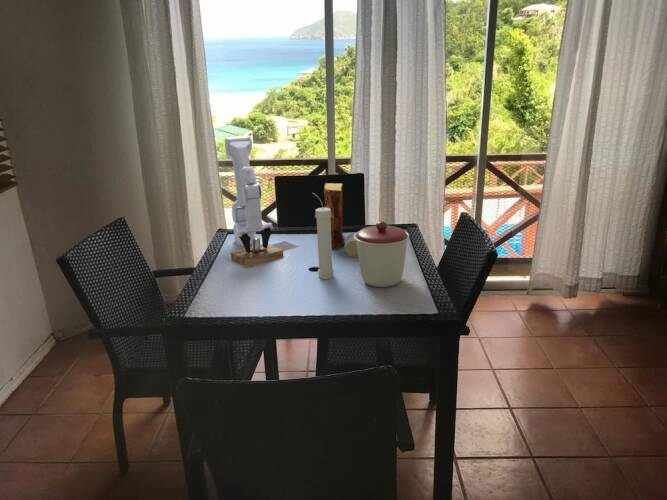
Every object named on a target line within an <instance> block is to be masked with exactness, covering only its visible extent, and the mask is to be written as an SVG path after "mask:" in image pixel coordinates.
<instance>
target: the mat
mask: <svg viewBox="0 0 667 500" xmlns="http://www.w3.org/2000/svg"><path fill="white" fill-rule="evenodd" d="M271 245H272V246H275V247H277V248H280V249H282V250H283V252H285V251H288V250H289V251H290V250H292V249H295V248H299V247H300V246H298V245H296V244H294V243H291V242H288V241H286V240H284V241H280V242H277V243H273V244H271Z"/></svg>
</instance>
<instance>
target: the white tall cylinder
mask: <svg viewBox="0 0 667 500" xmlns="http://www.w3.org/2000/svg"><path fill="white" fill-rule="evenodd" d="M312 194H313V195H315V196H316V197H317V199H318V200H319V201H320V203H321V206H322V207H318V208H316V209H314V210H315V215H314V219H315V218H316V230H317V231H316V235H317V251H318V253H317V254H318V269H317V273H318V278H319V279H321V280H330V279H333V277H334V276H335V275H334V273H335V270H334V267H333V253H332V252H333V249H332V244H331V220H330V218H331V217H332V214H331V209H330V208H325V207H324V206H323V202H322V200H321V198H319V197H320V196H318V195H317V194H315V193H314V192H312Z"/></svg>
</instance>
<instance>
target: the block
mask: <svg viewBox="0 0 667 500" xmlns="http://www.w3.org/2000/svg"><path fill="white" fill-rule="evenodd" d="M260 248H261V252H260V253H256V254H254V253H253V247H252V246H250V253H247V252H246V250H245V248H242V249H238V250H234V251H231V252H230V258H231V261H234V262H235V263H237V264H238V265H242V266H243V267H245V268H247V269H248V268H252V267H253V266H256V265H259V264H261V263H265V262H269V261H272V260H276V259H279V258H283V257H284V251H283V250H282V249H280V248H277V247H275V246H272V244H270V243H268V247H267V248H264V247H263V245H262V243H260Z"/></svg>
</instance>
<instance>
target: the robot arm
mask: <svg viewBox="0 0 667 500" xmlns="http://www.w3.org/2000/svg"><path fill="white" fill-rule="evenodd" d="M224 147H225V154H226V155H225V156H226V158H228V159H230V160H231V162H232V164H233V175H234V181H235V188H236V197H237V199H235V201H234V202H233V203H232V204H231V216H232V221H233V223H234V224H233V227H232V228H233V237H234V240H232V242H233V243H235V244H237V245H239V246H242V247H243V248H244V249H245V250H246V252H247V253H250V247H251V246H252V238H257V237H256V233H257V232H260V236H261V239H262V240H261V242H262V243H261V244H262V245H263V247H264V248H267V247H268V244H269V240H270V238H271V236H272V234H273V230H272V229H273V223H272V222H266V223H263V220H262V208H261V199H262V188H261V184H260V183H259V181H258V180H257V177H256V174H255V172H256V171H255V170H254V168H252V167H251V164H250V158H249V157H250V154H251V152H252V149H253V143H252V138H251V136H250V135H244V136H243V135H242V136H229V137H228V136H226V137H225V138H224Z"/></svg>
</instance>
